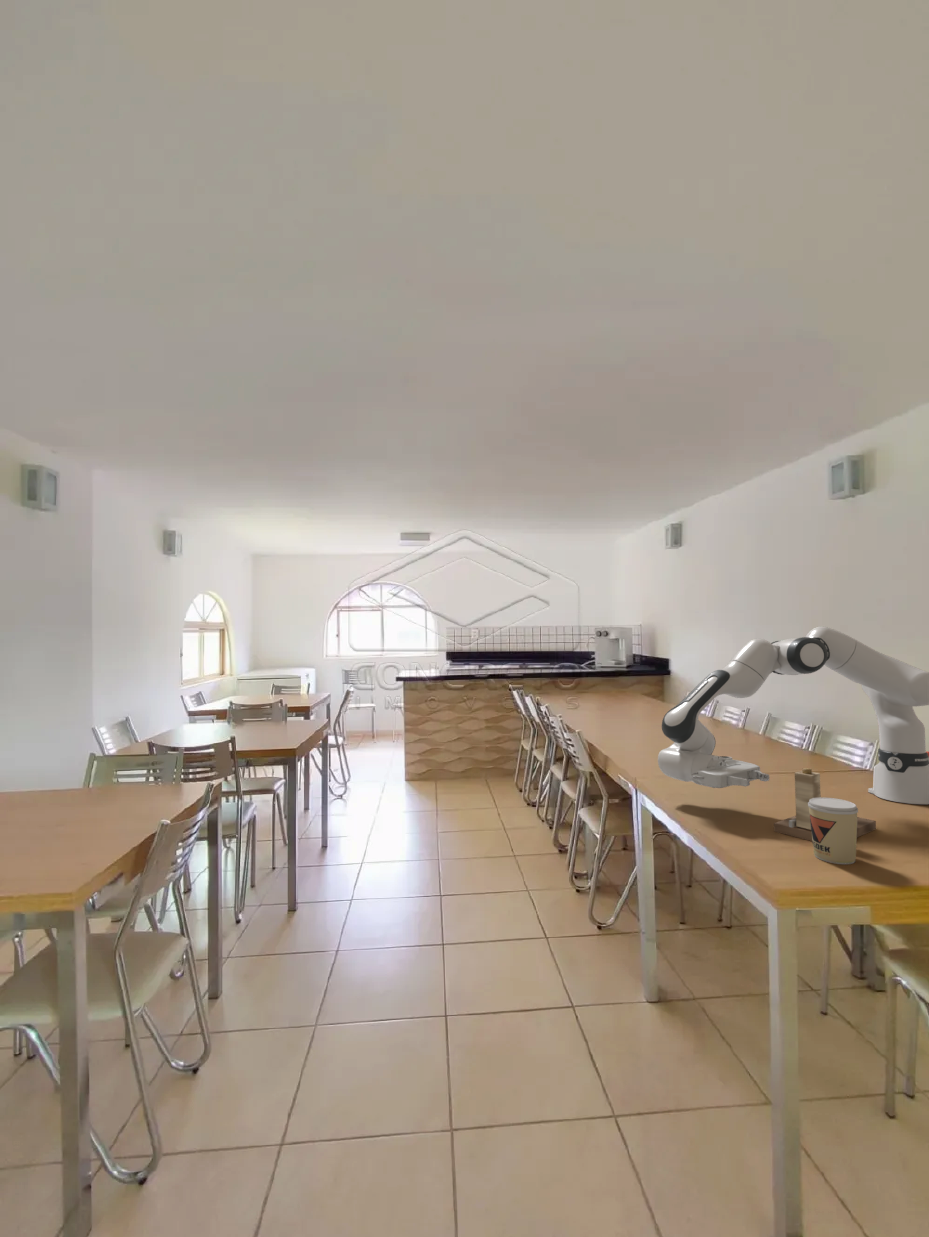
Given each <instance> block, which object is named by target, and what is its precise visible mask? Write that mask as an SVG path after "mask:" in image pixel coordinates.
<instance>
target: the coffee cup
mask: <svg viewBox="0 0 929 1237" xmlns="http://www.w3.org/2000/svg"><path fill="white" fill-rule="evenodd" d="M808 806H809V813H810V823H811V832H812V841H811V842H812V847H813V848H812V849H813V855H814V857H815V858H817V859H819V860H820V861H823V862H826V863H831V864H834V865H835V864H836V865H851V864H854V863H855V862H856V859H857V840H858V839H857V838H858V837H857V817H858V813H859V809H858V808H859V807H857V804H855V803H854V802H851V801H850V800H847V799H846V800H845V799H841V798H833V797H821V798H812V799H810V800H809V802H808Z"/></svg>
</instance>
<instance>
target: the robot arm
mask: <svg viewBox="0 0 929 1237" xmlns="http://www.w3.org/2000/svg"><path fill="white" fill-rule="evenodd" d="M824 666H825V667H827V668H829V669H830V670H833V671H834V672H836V673H837V674H840V675H841V676H843V677H844V678H847V679H848V680H850V681H852V682H854V683H856V684H859V685H861V689H862V691H863V693H865V695H866V696H867V697H868V698H869V701H870V702H871V705H872V707H873V710H874V713H875V716H876V720H877V724H878V736H879V737H878V739H879V748H878V750H877V751H878V752H877V756H878V758H877V759H878V761H879V762H878V763H877V764H875V765H874V767H873V779H872V782H873V783H872V787H869V788H867V791H868V793H870V794H872V795H875V796H876V797H878V798H880V799H883V800H887V801H891V802H897V803H903V804H910V805H911V804H912V805H929V750H928V751H926V750H927V749H926V748H927V747H926V727H925V725H924V723H923V722H922V720H920V718H918V716H917V714H916V712H915V710H914V707H924V706H929V671H926V670H923V669H920V668H918V667H916V666H913V665H911V664H909V663H907V662H904V661H902V660H899V659H897V658H895V657H892V656H889V655H887V654H885V653H882V652H880V651H877V650H875V649H873V648H871V647H870V646H868V645H866V644H864V643H862V642H860V641H859V640H857V639H855V638H853V637H852V636H850V635H847V634H846V633H844V632H841V631H838V630H836V629H834V628H832V627H831V628H830V627H828V626H817V627H814V628H812V629H810V630H809V632H807V634H806V635H805V636H803V637H791V638H786V639H782V640H776V641H773V642H770V641H768V640H765V639H764V638H763V639H762V638H754V639H750V640H749V641H748V642H747V643H745V644H744V645H743V646H742V647H741V648H740V649H739V650H738V651H737V652H736V653H735V654H734V655H733V657H731V659H730V660H729V662H728V663H727V664H726V665H725V666H724V667H722V668H721V669H717V670H714V671H712V672H711V673H709V674H708V675H707V676H705V677H704V679H702V681H700V682H699V683H698V684H697V685H696V686H695V687H694V689H692V690H691V691H690V692H689V693H688V694H687V695H686V696H685V697H684V698H683V699H682V700H681V701H680V702H679V703H677V704H676V705H675V706H673V707H672V708H671V709H670V710H668V711H667V712H666V713H665V715H663V718H662V721H661V731H662V733H663V735H664V736H665V737H666V738H668V739H669V740H671V741H672V742H673V743H671V745H669V746H668V747H666V748H663V749H661V750H659V753H658V755H657V764H658V768H659V769H660V771H661V772H662V774H664V775H665V776H666V777H669V778H672V779H674V780H677V781H682V782H691V783H694V784H696V785H699V786H704V787H709V788H713V789H724V788H727V787H731V786H742V787H745V788H746V787H749V786H750V784H751V782H753V781H756V780H759V781H761V782H769V781H770V774H769V773H764V772H762V771H761V768H760V766H759V765H757V764H755V763H751V762H747V761H743V760H739V759H733V757H732V756H726V755H725V756H724V755H722V756H720V755H715V754H713V753H714V751H715V748H716V742H717V741H716V738H715V735H714V733H712V732H711V731H710V730H709V728H707V727H706V725H704V724H703V723H702V722H701V721H700V720H699V715H700V714H701V713H702V711H704V710H705V709H706V708H707V707H708V706H709V705H710V704H711V703H712V702H713V701H714V699H716V698H717V697H719V696H721V695H726V696H729V697H732V698H736V699H746V698H750V697H752V696H753V695H755V694H756V693H757V692H758V691H759V690H760V688H761V687H762V686H763V685H764V683H765V682H766V680H767V679H768V678H769V676H770V675H771V674H772V673H774V674H777V675H787V676H797V675H805V674H806V675H810V674H813V673H815V672H817V671H819V670H821V669H822V668H823V667H824Z"/></svg>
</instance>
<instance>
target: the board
mask: <svg viewBox="0 0 929 1237" xmlns="http://www.w3.org/2000/svg"><path fill="white" fill-rule="evenodd" d="M875 830H877V821H876V820H872V819H868V818H866V817H865V818H864V817H859V816H857V838H859V837H861V836H863V835H866V834H868V833H870V832H873V831H875ZM773 832H776V833H780V834H783V835H788V836H791V837H795V838H798V839H802V840H807V841H810V842H813V841H812V832H811V830H809V829H805V828H801V827H797V826H796V815H794V816H791V817H788V818H785V819H782V820H779V821H777V822H773Z"/></svg>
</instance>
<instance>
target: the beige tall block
mask: <svg viewBox="0 0 929 1237" xmlns="http://www.w3.org/2000/svg"><path fill="white" fill-rule="evenodd" d="M812 771H813V770H812V768H808V767H804V768H802V769H801V770H800V771H796V772H794V794H795V799H794V800H795V816H796V826H797V827H801V828H805V829H809V830H811V823H810V813H809V806H808V802H809V800H810V799H812V798H822V797H821V792H822V791H821V774H820V772H812Z"/></svg>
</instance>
